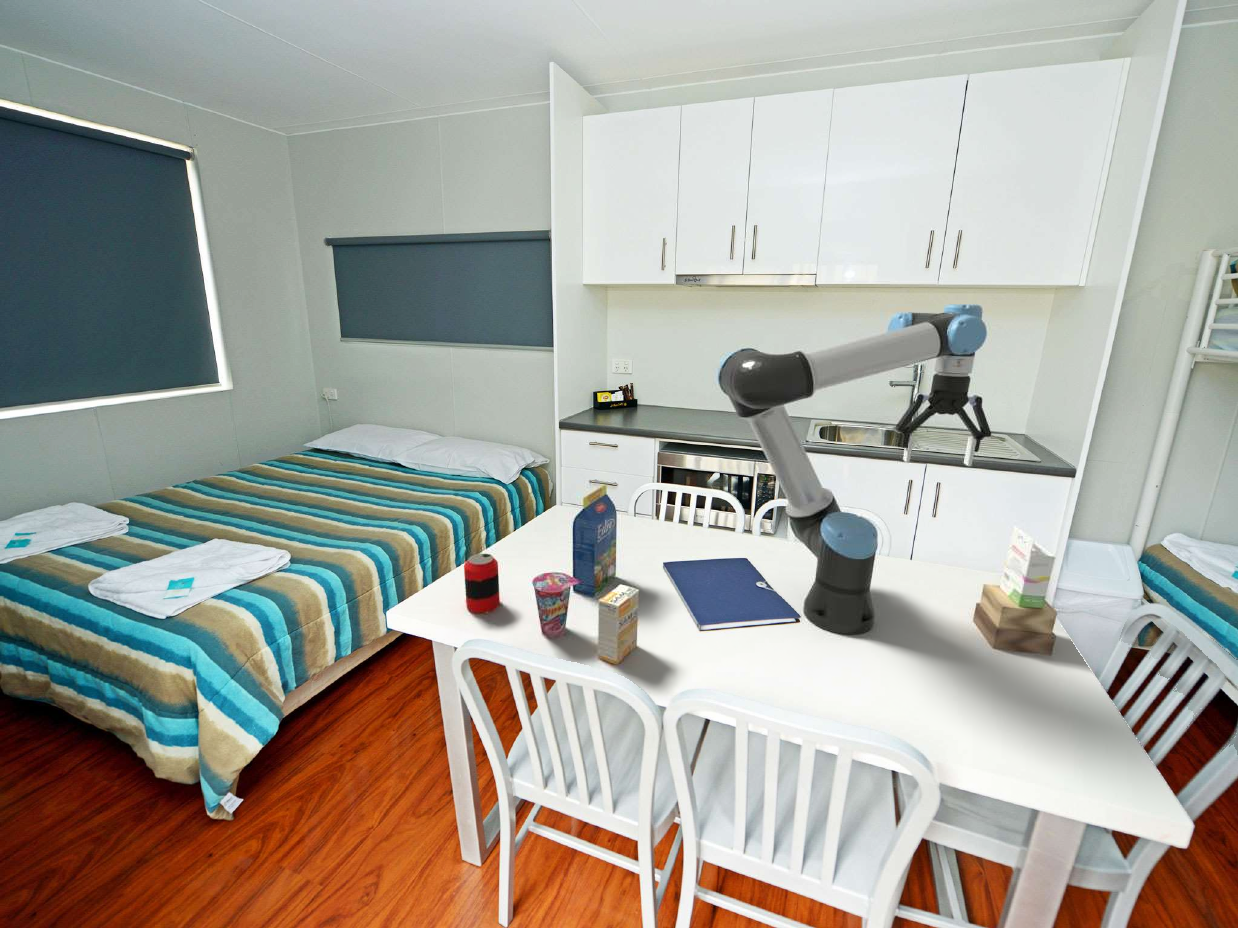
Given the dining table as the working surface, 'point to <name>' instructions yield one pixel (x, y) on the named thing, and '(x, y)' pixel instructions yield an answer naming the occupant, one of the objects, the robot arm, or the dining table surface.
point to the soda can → (481, 583)
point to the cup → (553, 601)
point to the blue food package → (594, 543)
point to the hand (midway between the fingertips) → (936, 462)
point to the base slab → (1012, 636)
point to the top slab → (1016, 612)
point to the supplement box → (617, 623)
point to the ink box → (1027, 571)
